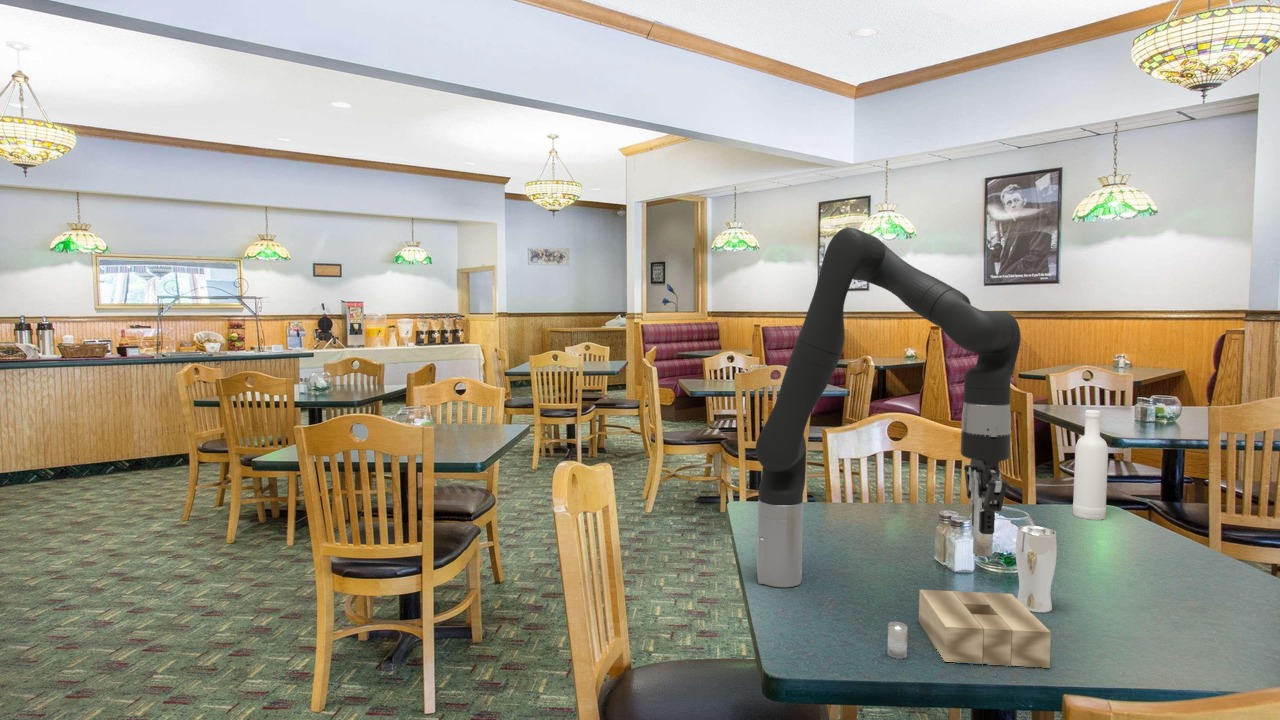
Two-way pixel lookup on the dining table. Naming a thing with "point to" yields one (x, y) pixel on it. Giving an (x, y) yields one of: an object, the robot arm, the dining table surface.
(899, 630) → the short steel pin
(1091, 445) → the bottle
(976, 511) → the long steel pin
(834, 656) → the dining table surface
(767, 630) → the dining table surface
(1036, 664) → the oak hole block
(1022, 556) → the beer glass
